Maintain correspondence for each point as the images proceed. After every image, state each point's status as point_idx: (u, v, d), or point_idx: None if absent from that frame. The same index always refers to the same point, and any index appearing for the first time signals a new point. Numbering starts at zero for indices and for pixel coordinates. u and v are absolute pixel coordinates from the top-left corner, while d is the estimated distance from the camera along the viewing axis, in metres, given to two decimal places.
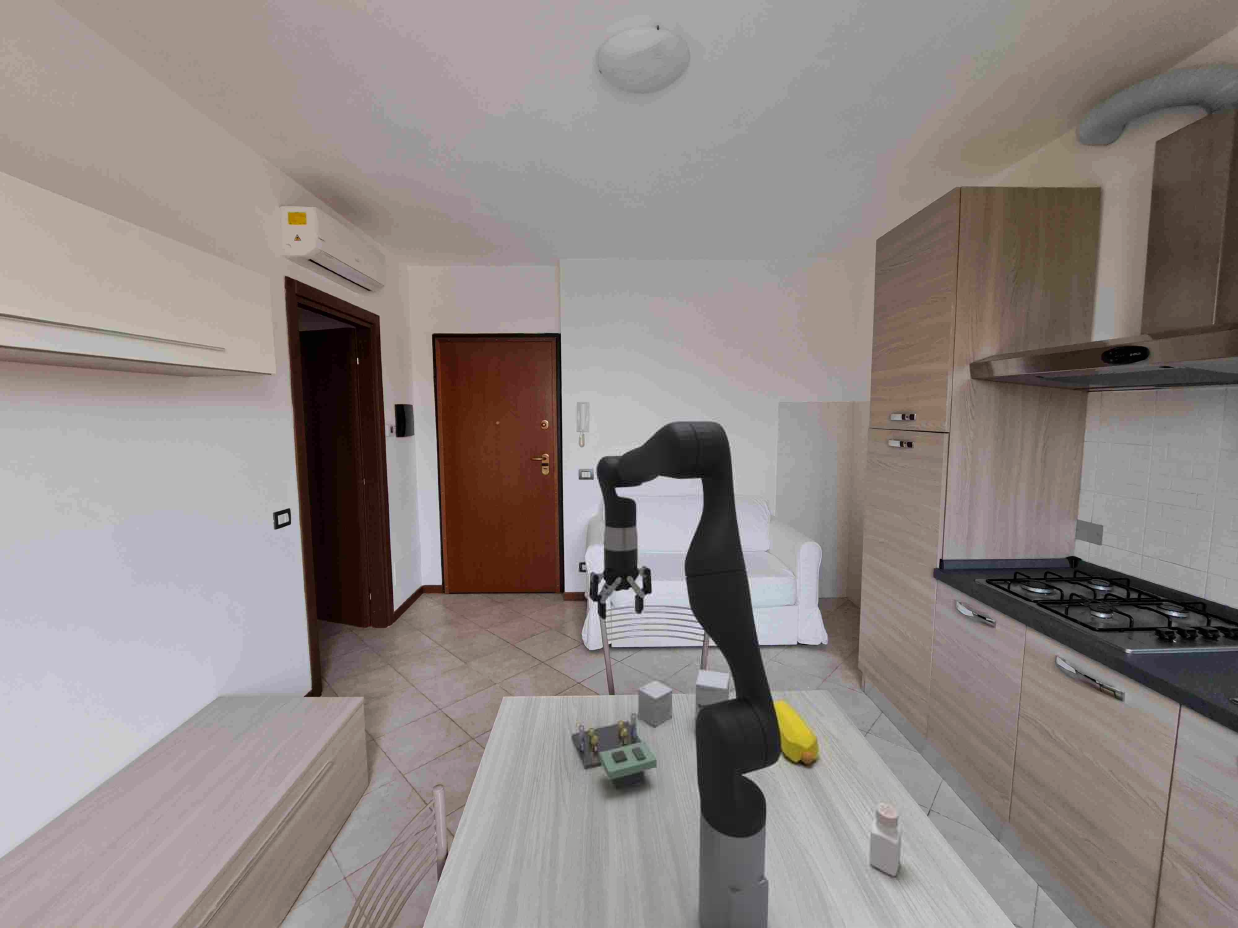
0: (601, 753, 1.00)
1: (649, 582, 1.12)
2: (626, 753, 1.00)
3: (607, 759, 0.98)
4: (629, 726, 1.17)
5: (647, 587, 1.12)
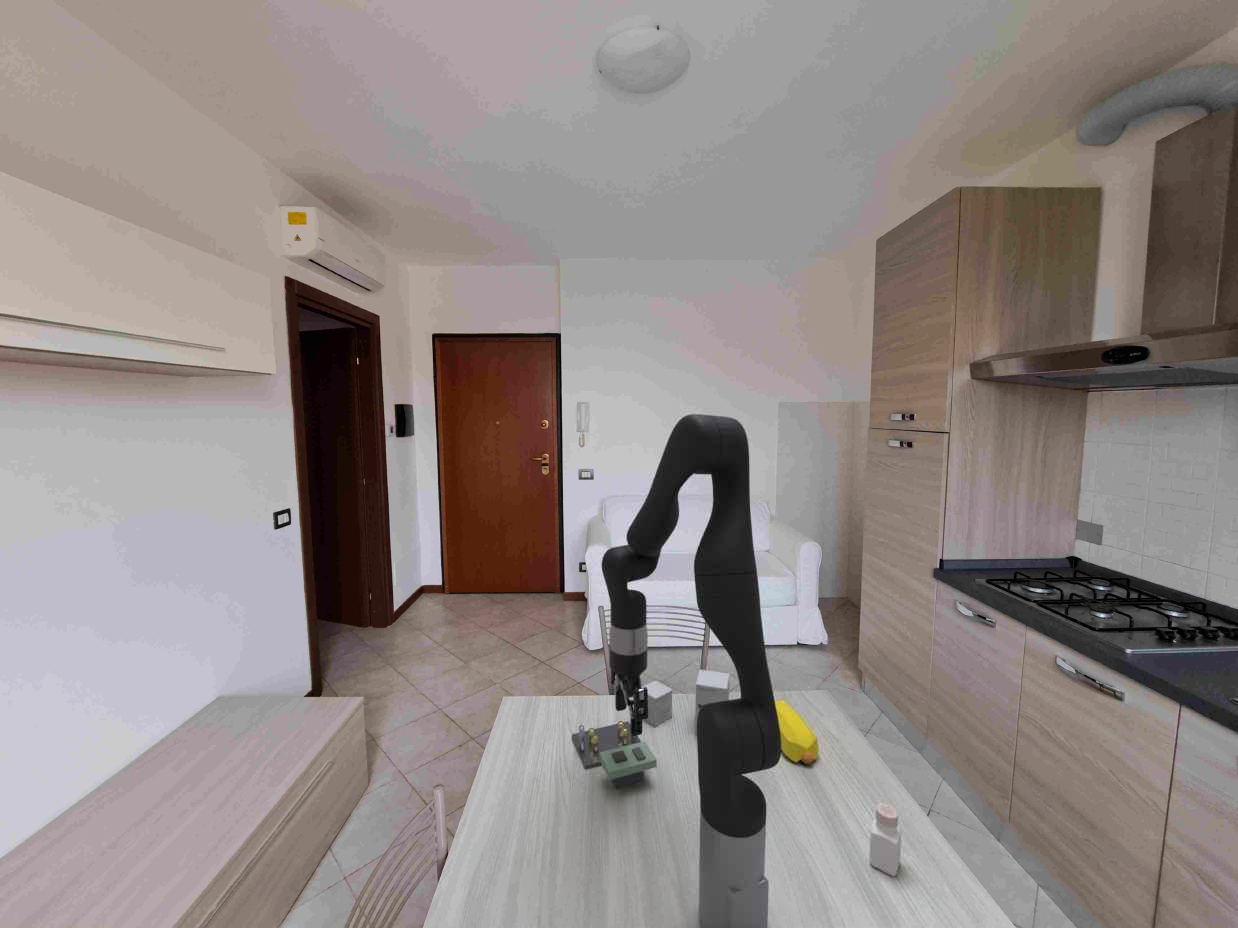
0: (601, 753, 1.00)
1: None
2: (626, 753, 1.00)
3: (607, 759, 0.98)
4: (629, 726, 1.17)
5: None
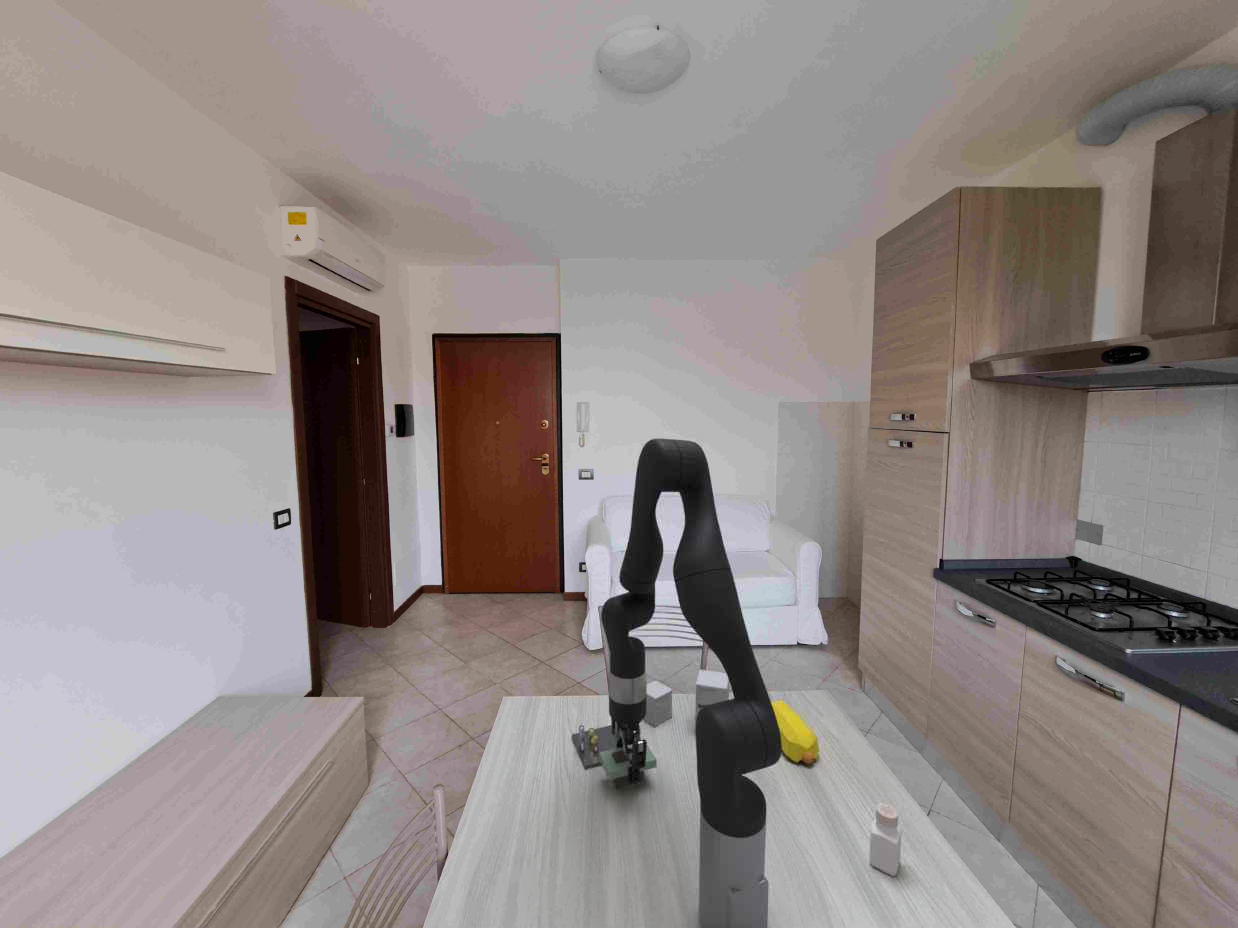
0: (601, 753, 1.00)
1: None
2: None
3: (607, 759, 0.98)
4: None
5: None
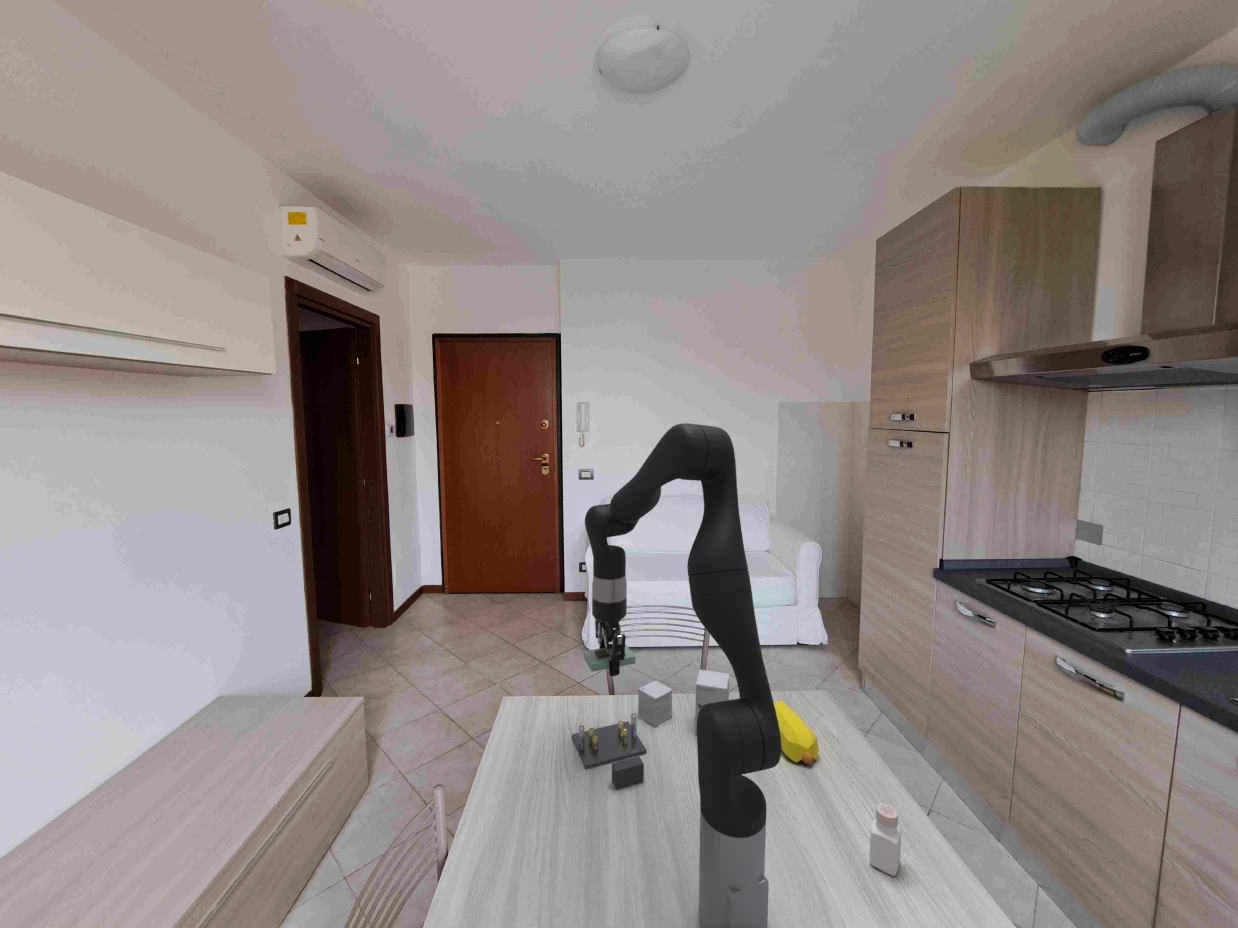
0: (585, 652, 1.09)
1: None
2: None
3: (590, 656, 1.08)
4: (629, 726, 1.17)
5: None
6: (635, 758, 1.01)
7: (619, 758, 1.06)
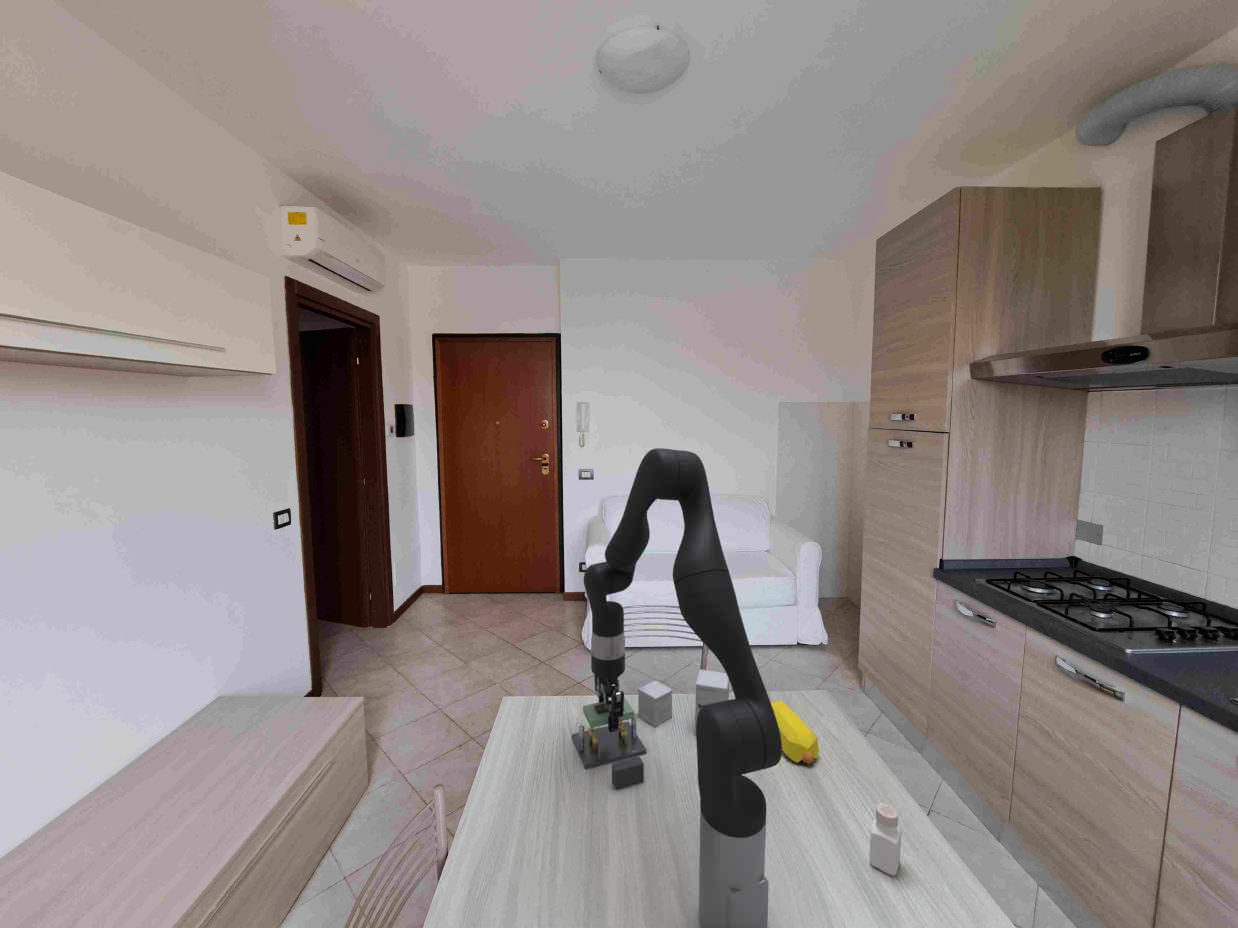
0: (584, 706, 1.11)
1: None
2: None
3: (590, 711, 1.09)
4: (629, 726, 1.17)
5: None
6: (635, 758, 1.01)
7: (619, 758, 1.06)
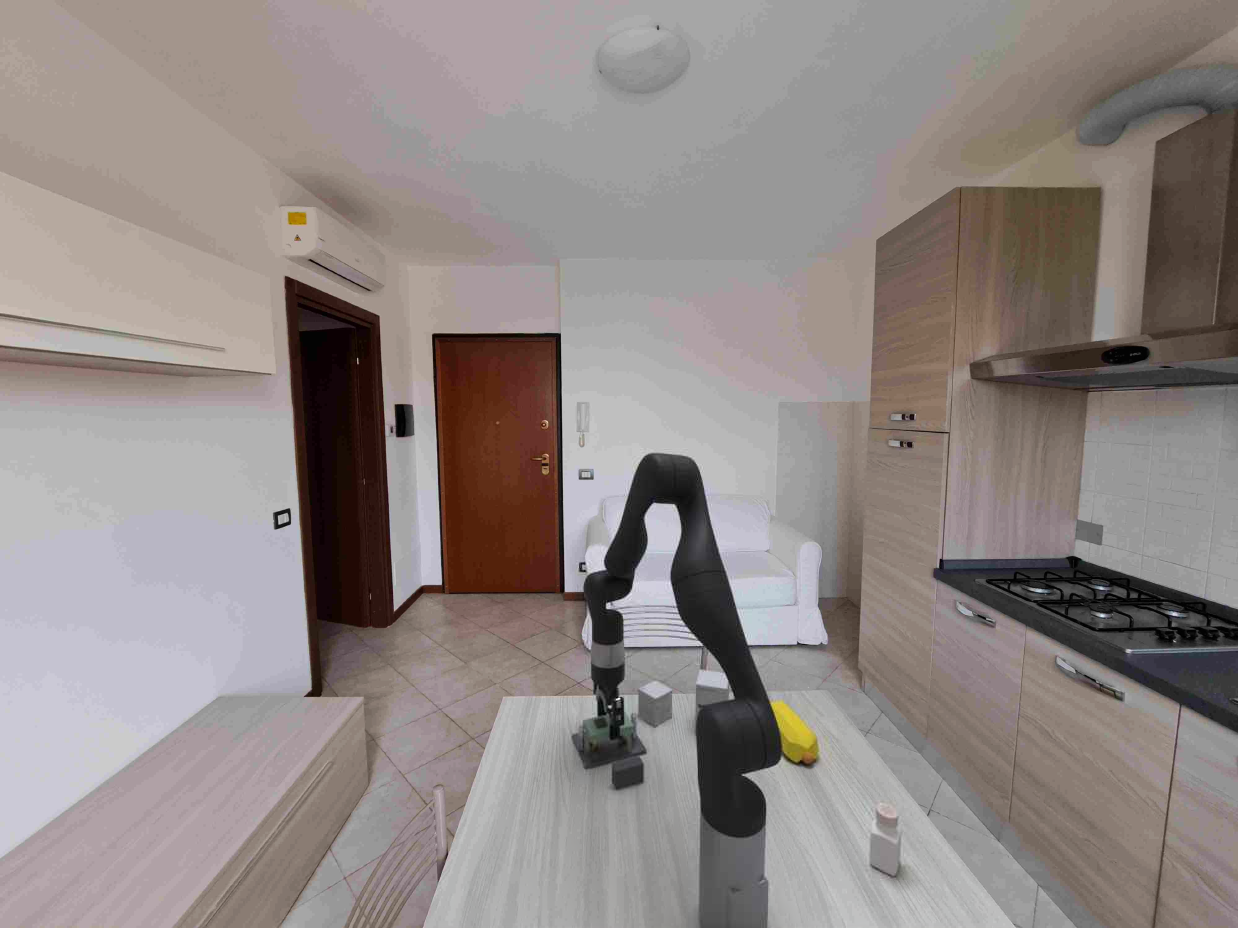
0: (584, 720, 1.11)
1: None
2: (607, 720, 1.11)
3: (589, 725, 1.09)
4: None
5: None
6: (635, 758, 1.01)
7: (619, 758, 1.06)
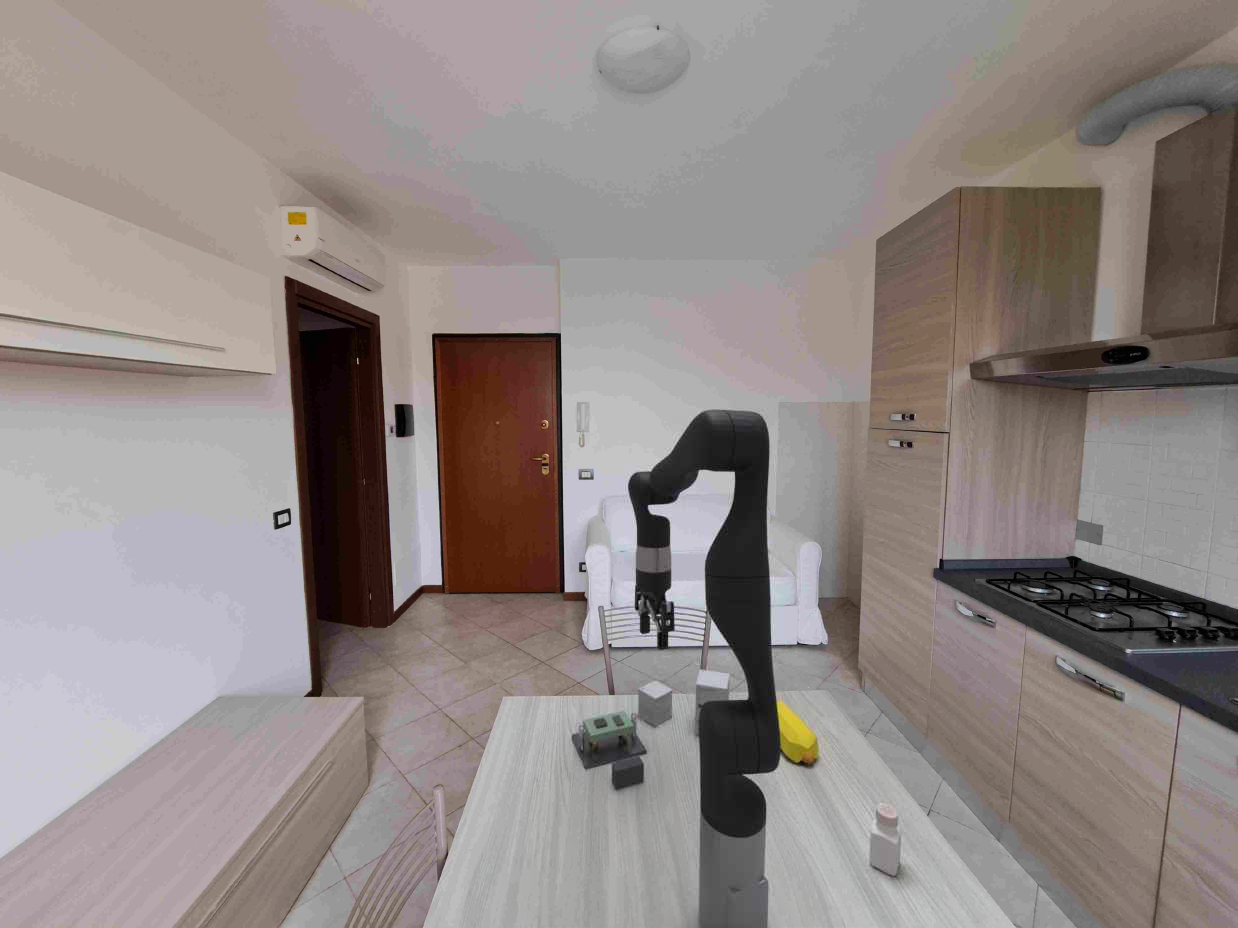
0: (584, 720, 1.11)
1: None
2: (607, 720, 1.11)
3: (589, 725, 1.09)
4: None
5: None
6: (635, 758, 1.01)
7: (619, 758, 1.06)
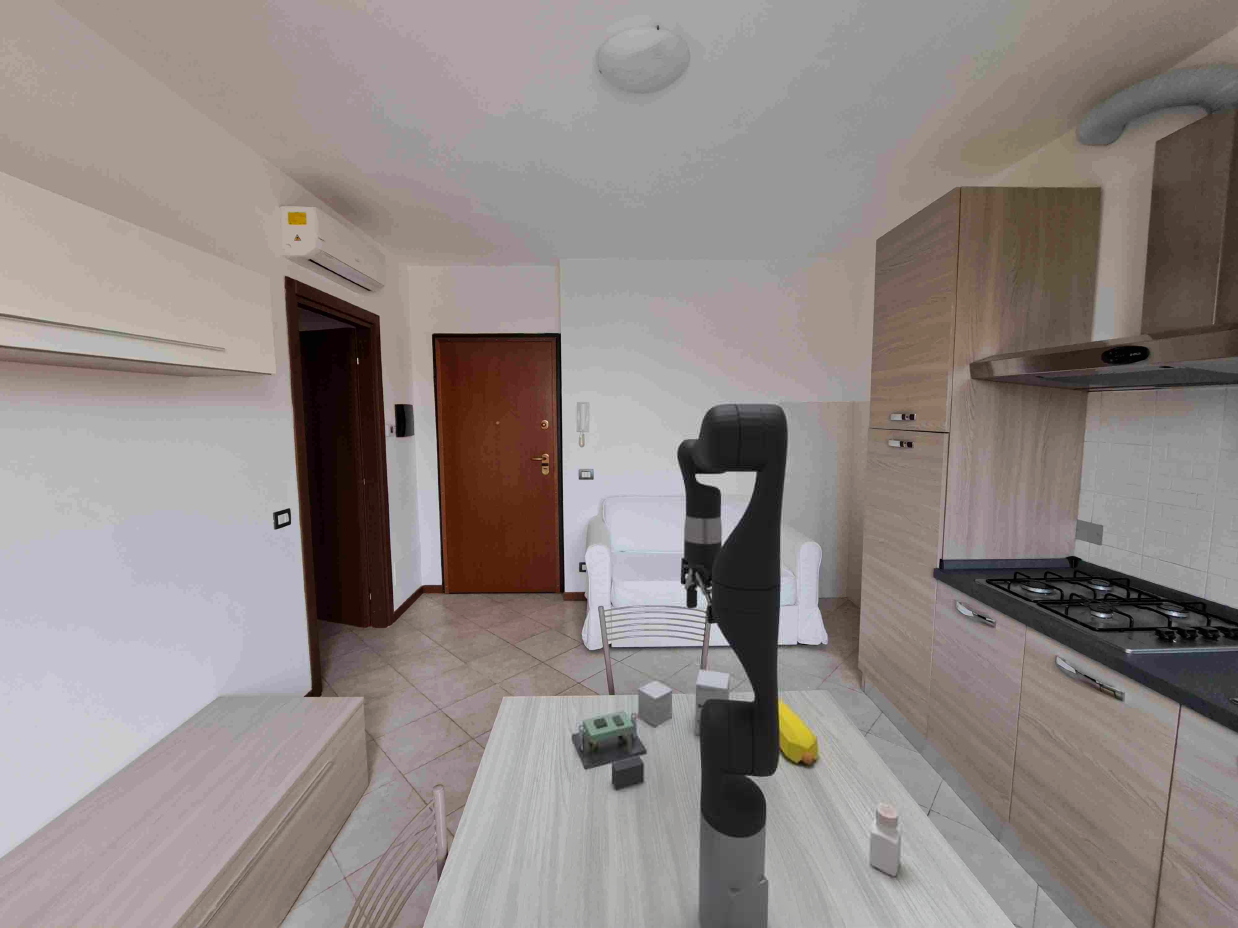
0: (584, 720, 1.11)
1: None
2: (607, 720, 1.11)
3: (589, 725, 1.09)
4: None
5: None
6: (635, 758, 1.01)
7: (619, 758, 1.06)
